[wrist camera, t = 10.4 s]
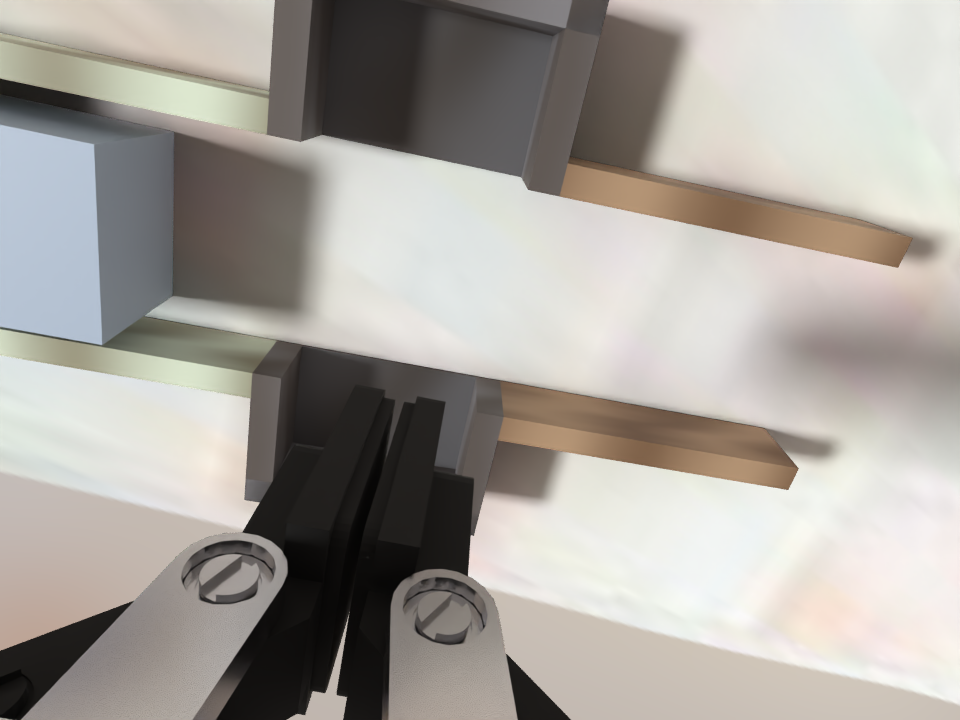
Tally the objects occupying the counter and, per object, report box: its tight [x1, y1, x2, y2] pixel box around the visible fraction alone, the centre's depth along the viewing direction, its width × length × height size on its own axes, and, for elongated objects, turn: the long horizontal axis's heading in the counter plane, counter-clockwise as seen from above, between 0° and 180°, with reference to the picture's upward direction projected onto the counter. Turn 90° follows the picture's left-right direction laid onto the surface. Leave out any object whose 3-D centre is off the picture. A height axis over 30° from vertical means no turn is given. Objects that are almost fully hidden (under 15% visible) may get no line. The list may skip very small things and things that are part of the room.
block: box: [0, 95, 174, 345], centre depth 20 cm, size 6×6×5 cm
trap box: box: [0, 0, 912, 536], centre depth 21 cm, size 33×19×5 cm, turn 78°
